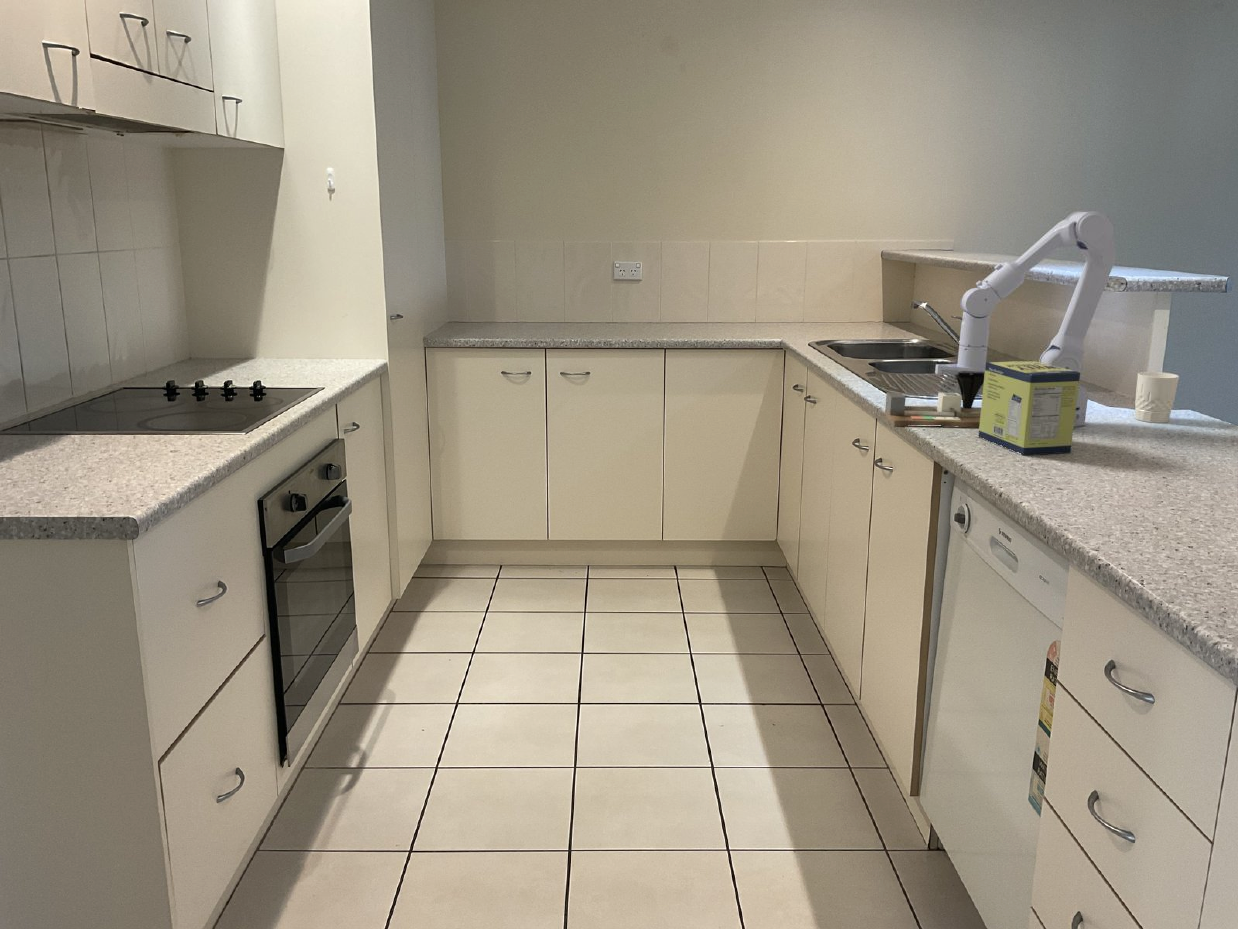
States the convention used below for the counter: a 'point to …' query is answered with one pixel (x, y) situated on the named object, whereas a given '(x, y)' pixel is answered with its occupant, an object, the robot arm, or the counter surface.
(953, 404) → the gauge carriage
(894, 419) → the gauge bed
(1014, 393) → the protein box
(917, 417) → the gauge scale
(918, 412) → the anvil and rails
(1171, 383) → the white cup
